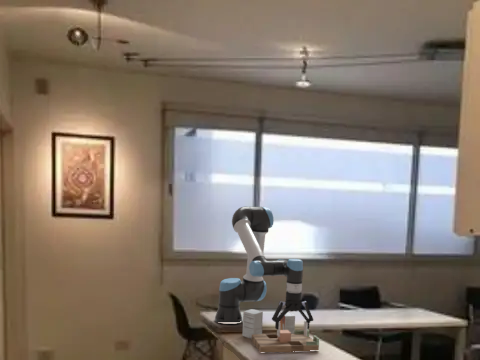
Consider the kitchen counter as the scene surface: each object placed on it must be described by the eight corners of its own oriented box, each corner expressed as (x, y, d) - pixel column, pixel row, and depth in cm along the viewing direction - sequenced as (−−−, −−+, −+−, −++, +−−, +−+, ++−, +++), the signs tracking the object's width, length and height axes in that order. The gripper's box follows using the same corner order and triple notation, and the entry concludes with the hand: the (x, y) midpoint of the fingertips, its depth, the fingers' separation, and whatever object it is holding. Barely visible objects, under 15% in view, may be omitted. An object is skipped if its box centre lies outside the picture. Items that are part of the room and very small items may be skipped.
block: (277, 338, 238) (278, 330, 238) (287, 338, 239) (287, 329, 239) (280, 341, 233) (280, 333, 233) (290, 341, 234) (291, 333, 234)
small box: (279, 332, 259) (280, 312, 259) (289, 331, 260) (290, 311, 260) (284, 336, 251) (285, 316, 251) (294, 336, 252) (295, 315, 252)
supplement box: (250, 333, 255) (251, 308, 255) (262, 336, 250) (263, 311, 250) (241, 336, 249) (242, 311, 249) (253, 339, 244) (254, 313, 244)
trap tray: (251, 340, 242) (252, 328, 242) (305, 339, 248) (306, 327, 248) (260, 353, 225) (261, 339, 225) (318, 351, 230) (319, 338, 231)
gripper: (271, 293, 231) (268, 338, 231) (321, 293, 236) (319, 337, 236) (266, 289, 238) (264, 333, 238) (315, 289, 243) (313, 332, 243)
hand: (291, 335), depth 237 cm, fingers open, 13 cm apart
